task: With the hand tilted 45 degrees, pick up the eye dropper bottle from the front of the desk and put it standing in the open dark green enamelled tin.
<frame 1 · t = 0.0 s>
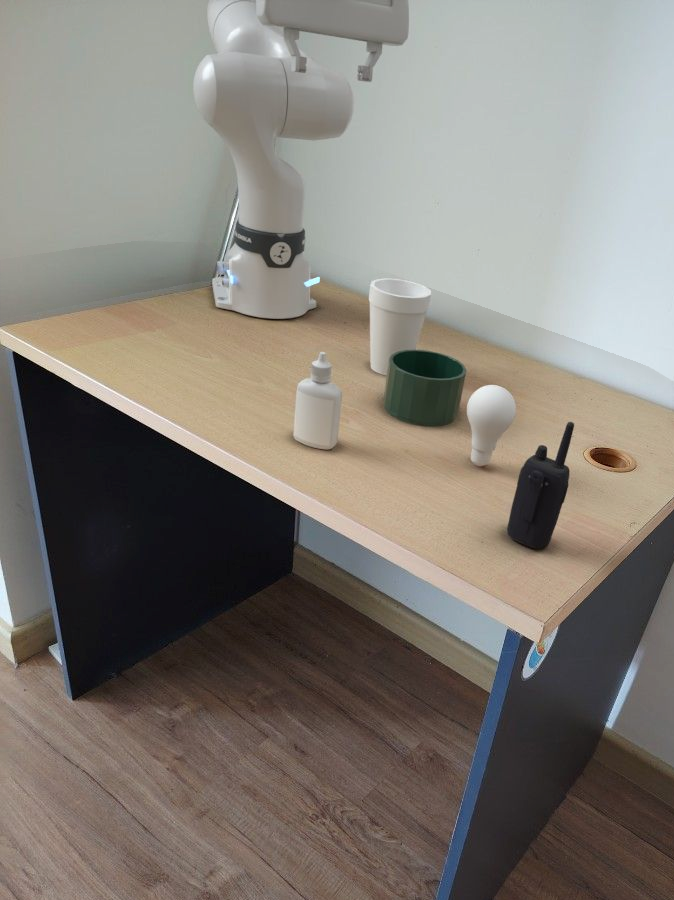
hand: (332, 77, 101), 39 cm above the table, tool pointing down, fingers open, 8 cm apart
lightbulb: (478, 466, 99), on the table
tin: (420, 409, 111), on the table
two-way radio: (524, 543, 85), on the table
eye dropper bottle: (315, 443, 98), on the table
foam cup: (389, 369, 123), on the table
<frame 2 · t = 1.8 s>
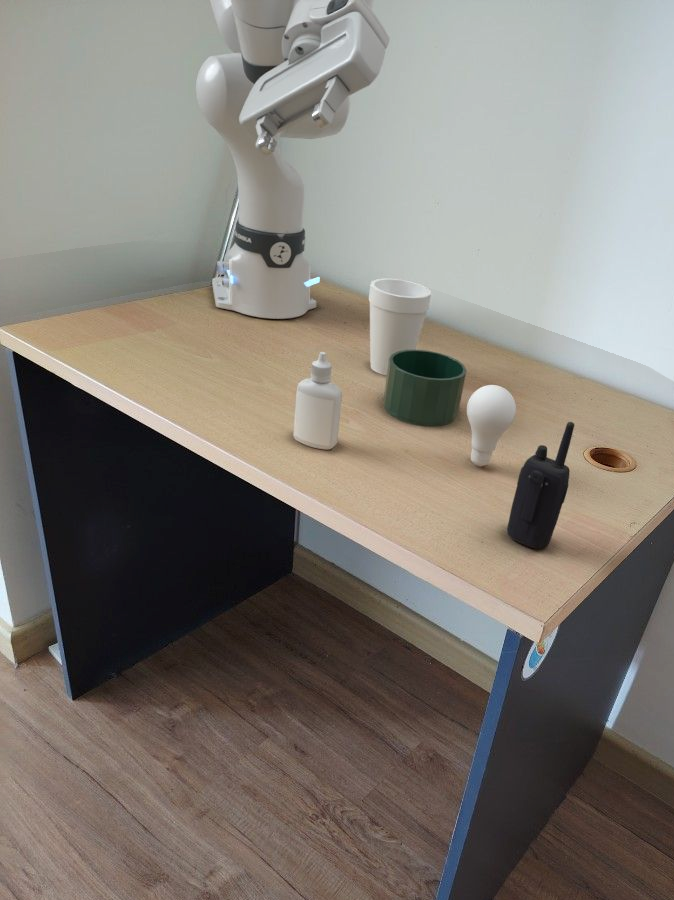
hand: (291, 136, 87), 33 cm above the table, tool tilted 50°, fingers open, 8 cm apart
nothing on the table moved.
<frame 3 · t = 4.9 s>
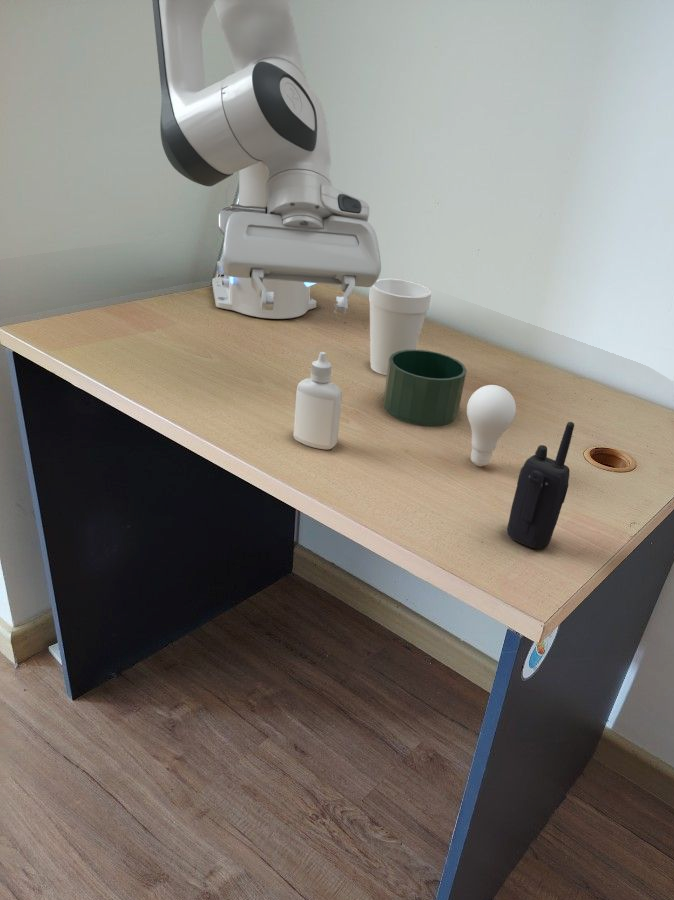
hand: (304, 310, 97), 14 cm above the table, tool tilted 45°, fingers open, 8 cm apart
nothing on the table moved.
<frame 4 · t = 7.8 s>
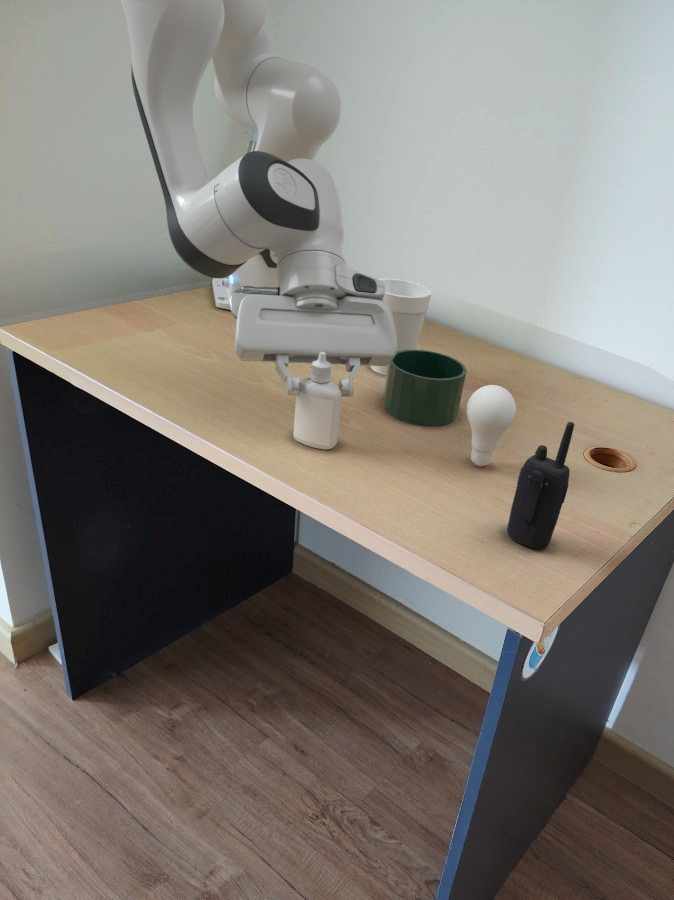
hand: (320, 394, 94), 7 cm above the table, tool tilted 45°, fingers closed on eye dropper bottle, 5 cm apart
eye dropper bottle: (314, 443, 98), on the table, touching gripper
everything else where it was.
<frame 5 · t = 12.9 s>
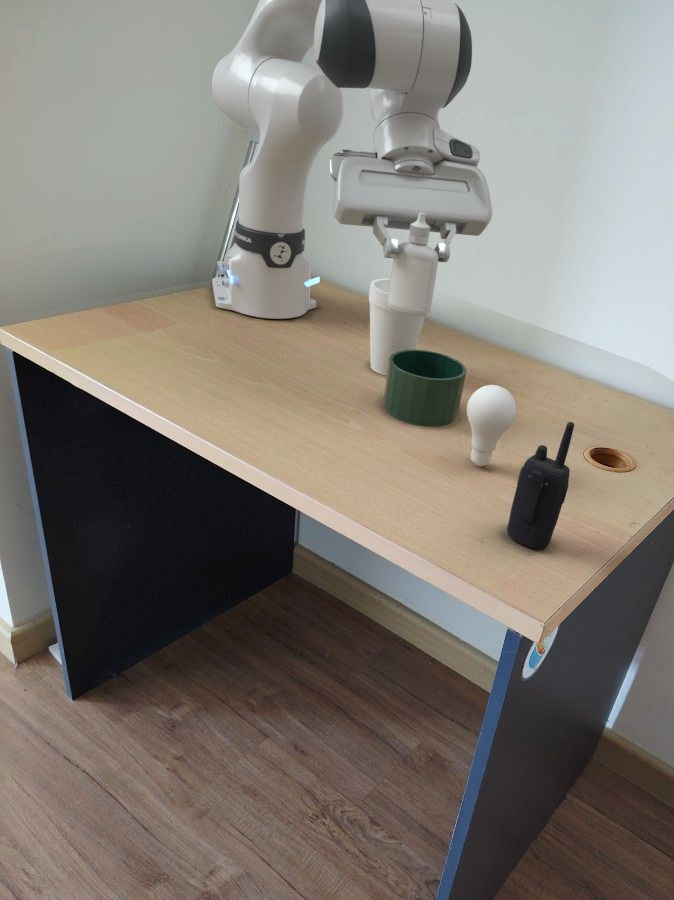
hand: (417, 257, 95), 22 cm above the table, tool tilted 45°, fingers closed on eye dropper bottle, 5 cm apart
eye dropper bottle: (408, 312, 99), point 15 cm above the table, touching gripper
everything else where it was.
when the fingers open (8 cm above the table, at t = 18.6 s): eye dropper bottle stays where it is, resting on tin.
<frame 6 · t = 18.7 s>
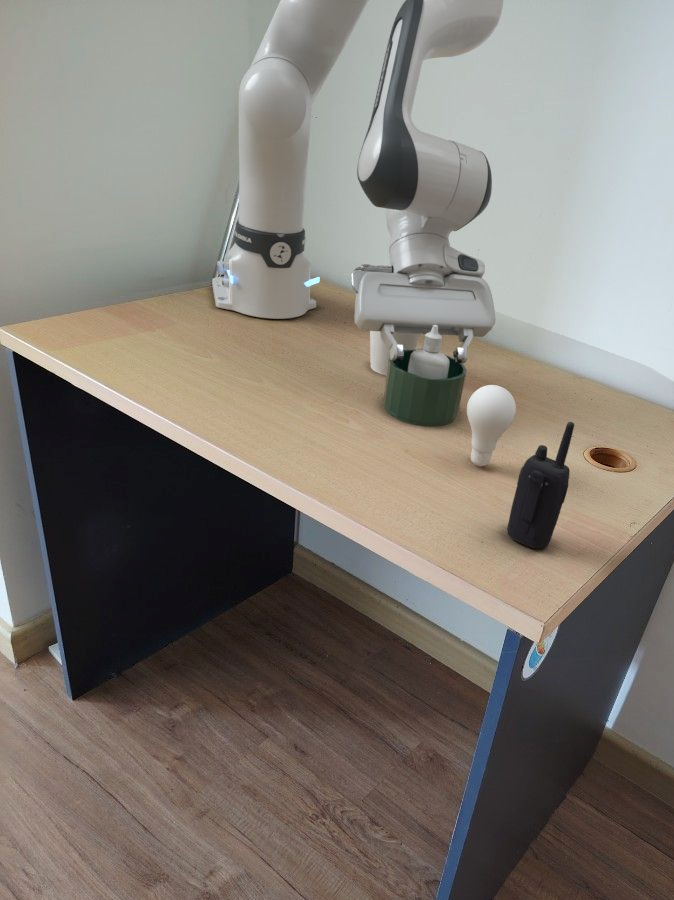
hand: (429, 360, 106), 8 cm above the table, tool tilted 45°, fingers open, 8 cm apart
eye dropper bottle: (421, 407, 111), resting on tin
everything else where it was.
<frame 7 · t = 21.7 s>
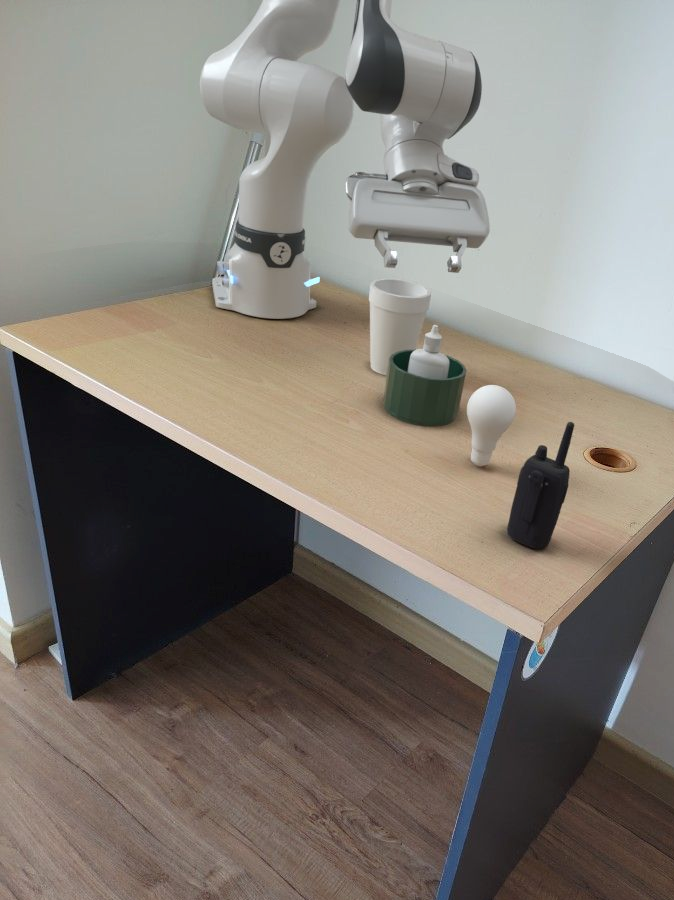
hand: (423, 268, 107), 18 cm above the table, tool tilted 45°, fingers open, 8 cm apart
nothing on the table moved.
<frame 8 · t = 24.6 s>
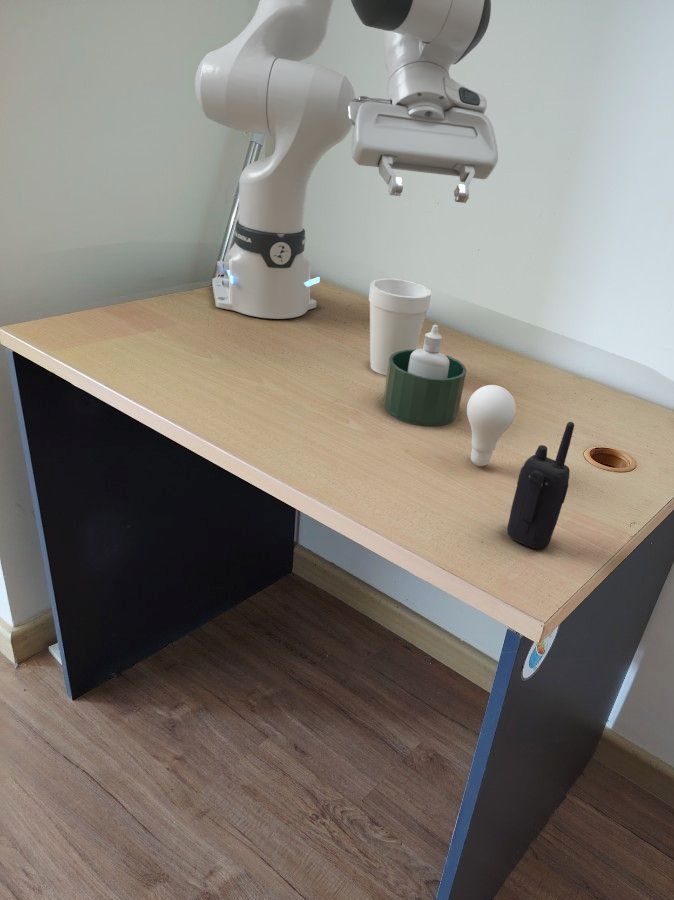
hand: (429, 196, 102), 27 cm above the table, tool tilted 45°, fingers open, 8 cm apart
nothing on the table moved.
at the end: eye dropper bottle inside the target area in the tin (0.2 cm from its centre), point 0.3 cm above the tin's base; eye dropper bottle tilted 0°; the gripper is holding nothing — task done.
